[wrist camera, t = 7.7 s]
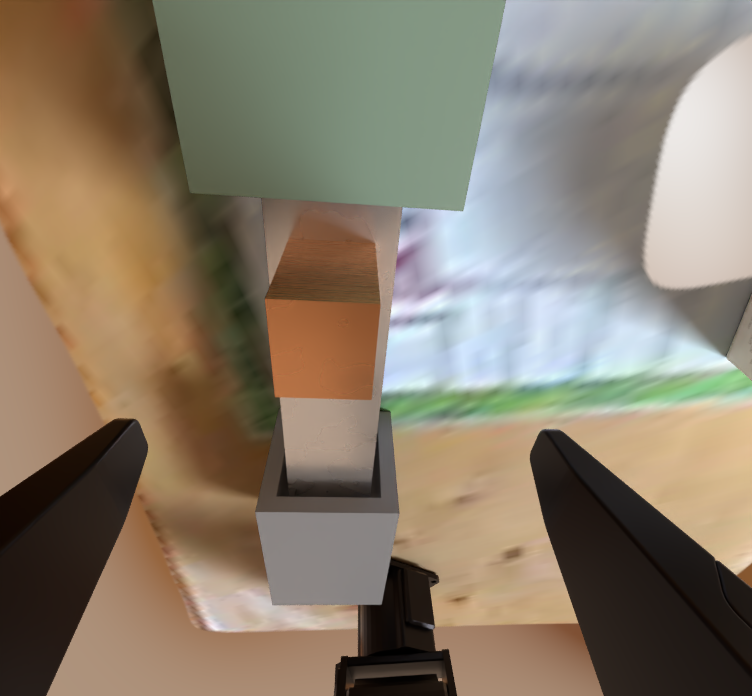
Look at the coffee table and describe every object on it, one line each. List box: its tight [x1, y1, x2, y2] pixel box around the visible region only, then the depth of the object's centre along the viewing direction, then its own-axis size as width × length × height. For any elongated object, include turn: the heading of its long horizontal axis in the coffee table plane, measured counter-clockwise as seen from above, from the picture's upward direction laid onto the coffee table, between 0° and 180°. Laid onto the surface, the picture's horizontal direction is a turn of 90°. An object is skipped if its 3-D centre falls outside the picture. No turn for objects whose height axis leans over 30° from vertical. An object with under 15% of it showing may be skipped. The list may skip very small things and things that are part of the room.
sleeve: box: [255, 408, 399, 605], centre depth 24 cm, size 10×7×7 cm, turn 176°
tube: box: [261, 198, 402, 498], centre depth 15 cm, size 18×4×8 cm, turn 176°
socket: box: [152, 0, 506, 211], centre depth 11 cm, size 5×7×7 cm
